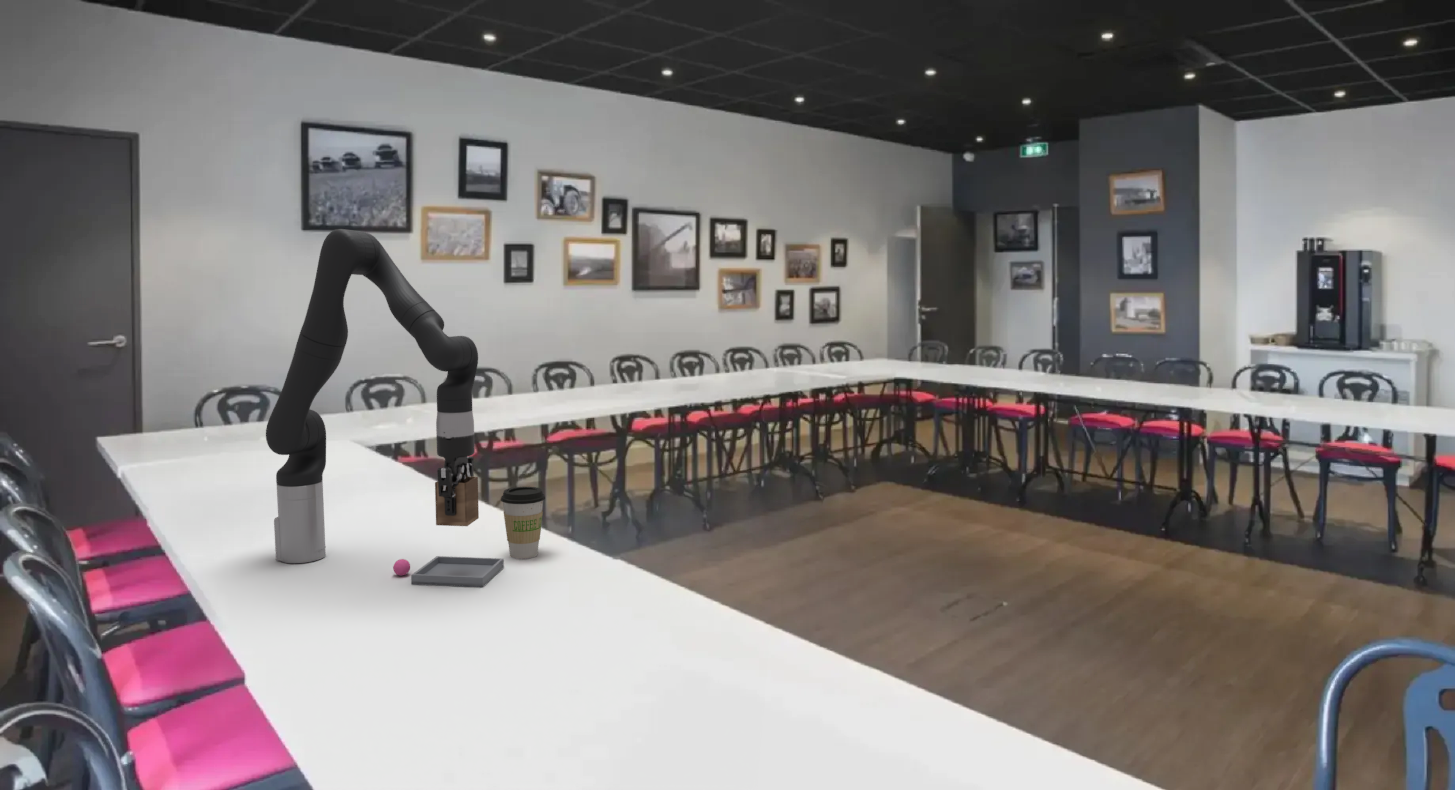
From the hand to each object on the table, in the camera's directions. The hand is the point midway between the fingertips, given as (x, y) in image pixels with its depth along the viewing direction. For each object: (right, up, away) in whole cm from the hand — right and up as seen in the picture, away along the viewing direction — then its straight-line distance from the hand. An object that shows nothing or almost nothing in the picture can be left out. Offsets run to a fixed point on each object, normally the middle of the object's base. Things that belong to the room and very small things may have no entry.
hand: (457, 510), depth 185 cm
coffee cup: (+10, -13, +17) cm, 23 cm away
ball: (-12, -12, +1) cm, 17 cm away
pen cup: (0, -2, 0) cm, 2 cm away
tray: (0, -14, +2) cm, 14 cm away
